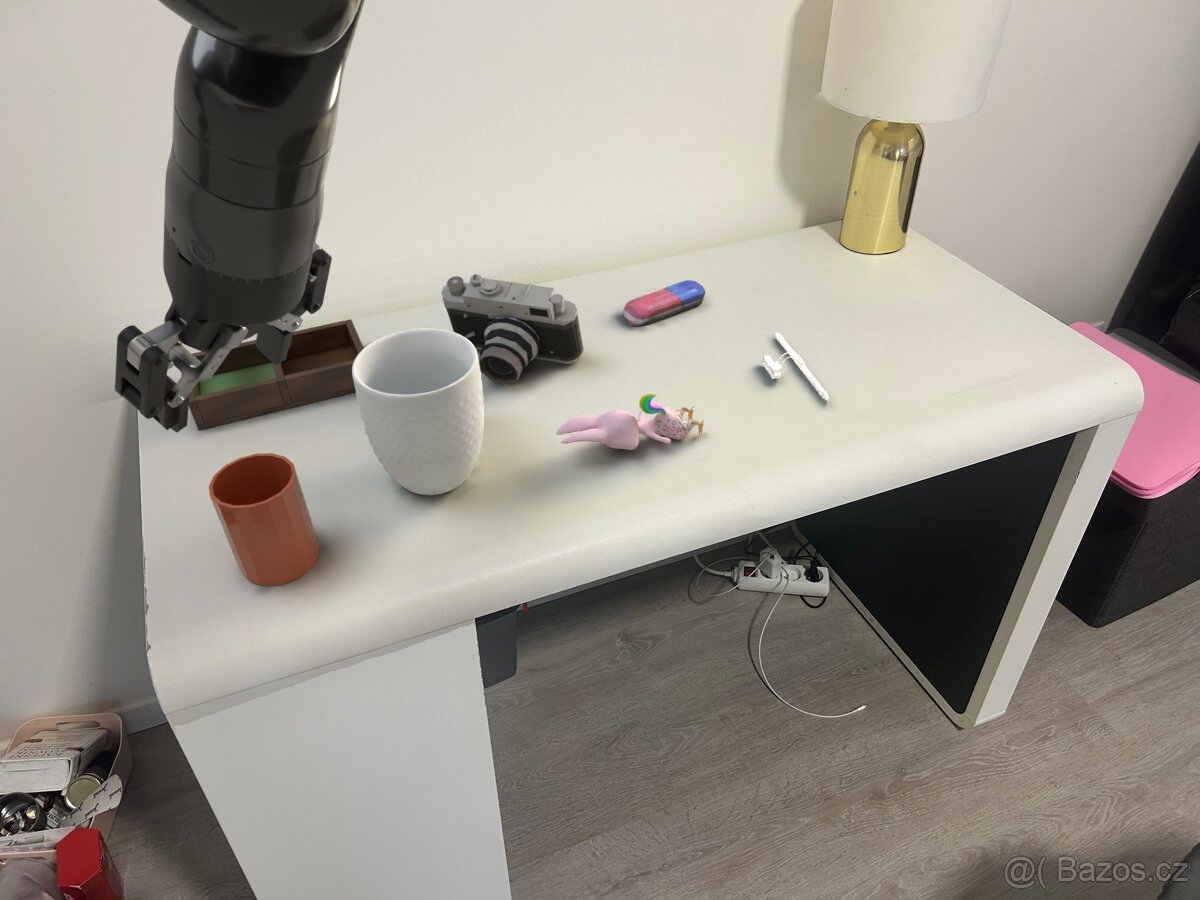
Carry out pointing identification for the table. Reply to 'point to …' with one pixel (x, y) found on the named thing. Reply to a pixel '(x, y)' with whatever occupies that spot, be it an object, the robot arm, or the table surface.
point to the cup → (265, 518)
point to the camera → (512, 324)
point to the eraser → (663, 303)
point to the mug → (422, 407)
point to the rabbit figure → (630, 426)
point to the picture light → (775, 367)
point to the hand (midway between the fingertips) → (222, 386)
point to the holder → (278, 376)
